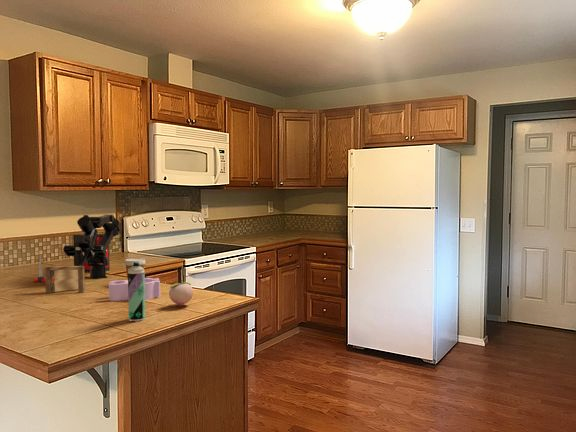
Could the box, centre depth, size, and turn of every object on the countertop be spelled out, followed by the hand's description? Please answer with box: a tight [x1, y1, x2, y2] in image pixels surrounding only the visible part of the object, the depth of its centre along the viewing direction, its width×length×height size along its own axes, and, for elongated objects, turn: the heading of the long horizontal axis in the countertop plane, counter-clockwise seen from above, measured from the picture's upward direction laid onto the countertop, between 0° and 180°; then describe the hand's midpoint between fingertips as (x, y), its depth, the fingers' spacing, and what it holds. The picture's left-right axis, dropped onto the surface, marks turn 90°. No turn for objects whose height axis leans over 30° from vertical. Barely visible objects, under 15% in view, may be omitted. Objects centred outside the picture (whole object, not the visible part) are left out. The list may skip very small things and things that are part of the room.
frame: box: [44, 265, 86, 294], centre depth 203 cm, size 16×2×11 cm, turn 93°
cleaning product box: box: [72, 233, 110, 273], centre depth 257 cm, size 16×9×20 cm, turn 68°
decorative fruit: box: [168, 280, 194, 306], centre depth 180 cm, size 9×8×10 cm
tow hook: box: [33, 255, 54, 283], centre depth 230 cm, size 8×13×9 cm
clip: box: [108, 277, 161, 302], centre depth 194 cm, size 20×12×7 cm, turn 109°
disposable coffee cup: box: [124, 257, 147, 279], centre depth 219 cm, size 10×10×12 cm
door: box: [52, 270, 78, 292], centre depth 206 cm, size 11×2×10 cm, turn 128°
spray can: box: [127, 262, 146, 322], centre depth 161 cm, size 6×6×20 cm
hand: (80, 265), depth 217 cm, fingers closed
